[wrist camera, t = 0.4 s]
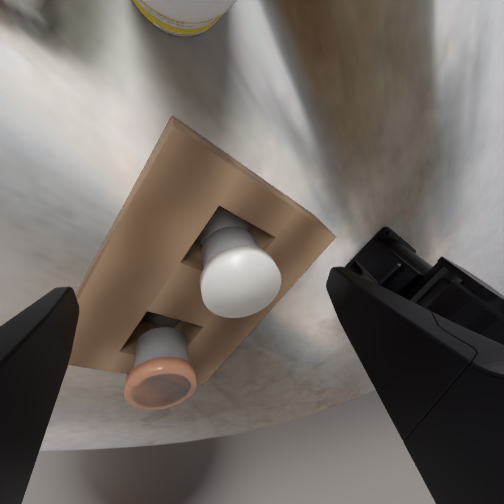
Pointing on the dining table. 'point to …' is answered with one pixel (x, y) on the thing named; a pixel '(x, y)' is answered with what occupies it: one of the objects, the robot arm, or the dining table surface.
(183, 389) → the plug
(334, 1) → the dining table surface
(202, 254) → the plug
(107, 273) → the wooden socket block
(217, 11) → the supplement bottle
